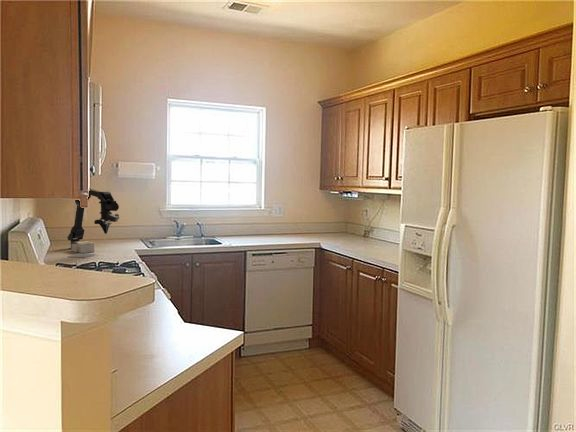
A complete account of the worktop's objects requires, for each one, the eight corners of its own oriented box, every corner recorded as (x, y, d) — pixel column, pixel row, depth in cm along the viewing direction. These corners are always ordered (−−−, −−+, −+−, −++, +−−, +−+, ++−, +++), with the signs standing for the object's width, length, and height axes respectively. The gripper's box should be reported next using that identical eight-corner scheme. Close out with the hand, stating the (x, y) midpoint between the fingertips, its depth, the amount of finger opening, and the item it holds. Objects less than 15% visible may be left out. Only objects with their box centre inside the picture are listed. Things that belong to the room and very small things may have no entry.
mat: (78, 254, 319) (78, 253, 319) (95, 254, 318) (95, 254, 318) (67, 257, 308) (67, 256, 308) (84, 257, 306) (84, 257, 306)
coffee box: (81, 244, 322) (70, 241, 332) (81, 253, 322) (70, 250, 333) (94, 242, 328) (83, 240, 339) (94, 252, 329) (84, 249, 340)
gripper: (109, 211, 314) (110, 235, 315) (123, 209, 332) (123, 232, 333) (93, 211, 315) (94, 235, 316) (108, 209, 333) (108, 232, 335)
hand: (105, 233), depth 325 cm, fingers closed
